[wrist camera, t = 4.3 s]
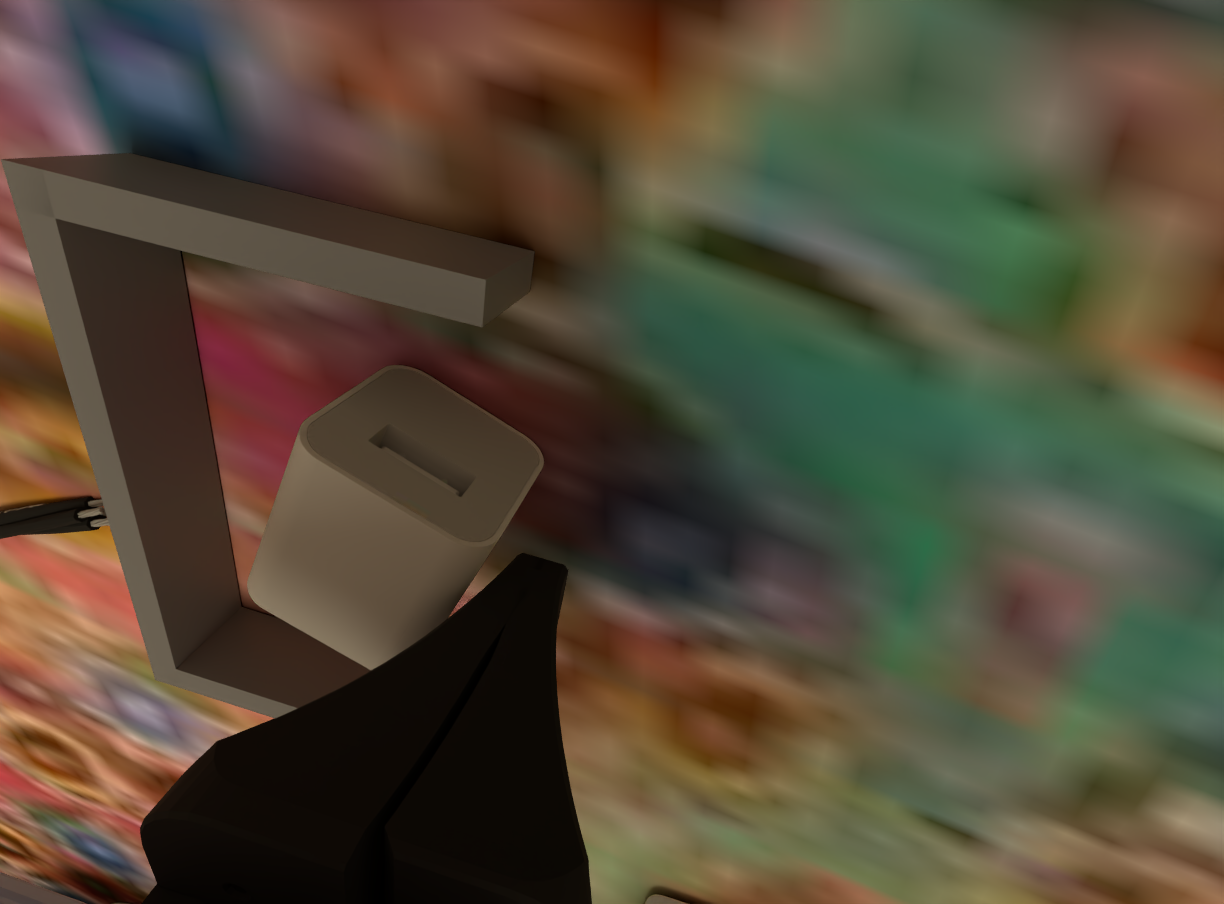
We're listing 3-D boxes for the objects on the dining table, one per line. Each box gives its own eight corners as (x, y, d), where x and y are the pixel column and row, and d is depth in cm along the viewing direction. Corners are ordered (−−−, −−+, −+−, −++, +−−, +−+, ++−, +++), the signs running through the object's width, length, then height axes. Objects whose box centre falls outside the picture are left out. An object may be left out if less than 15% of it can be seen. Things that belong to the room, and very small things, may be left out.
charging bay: (481, 698, 19) (446, 773, 16) (221, 618, 19) (155, 679, 17) (534, 251, 12) (485, 280, 10) (129, 153, 13) (0, 159, 10)
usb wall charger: (551, 452, 14) (485, 561, 10) (441, 622, 17) (365, 745, 14) (400, 356, 14) (279, 436, 10) (318, 549, 17) (207, 658, 14)
